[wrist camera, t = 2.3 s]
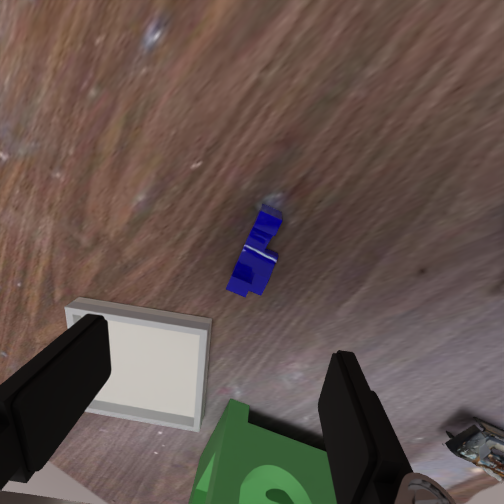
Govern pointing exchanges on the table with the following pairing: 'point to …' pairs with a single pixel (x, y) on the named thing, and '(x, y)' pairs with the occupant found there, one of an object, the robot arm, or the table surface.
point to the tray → (151, 363)
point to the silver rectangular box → (480, 447)
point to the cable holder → (256, 255)
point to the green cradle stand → (259, 466)
